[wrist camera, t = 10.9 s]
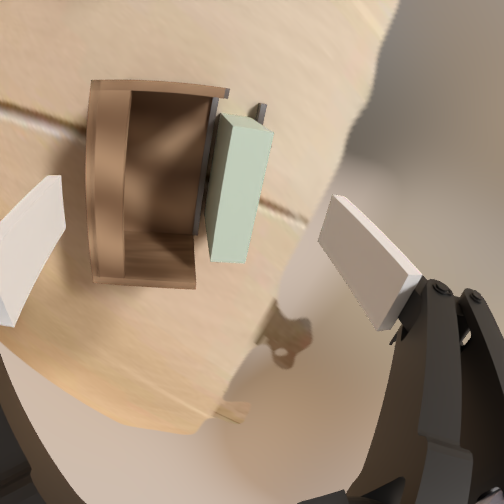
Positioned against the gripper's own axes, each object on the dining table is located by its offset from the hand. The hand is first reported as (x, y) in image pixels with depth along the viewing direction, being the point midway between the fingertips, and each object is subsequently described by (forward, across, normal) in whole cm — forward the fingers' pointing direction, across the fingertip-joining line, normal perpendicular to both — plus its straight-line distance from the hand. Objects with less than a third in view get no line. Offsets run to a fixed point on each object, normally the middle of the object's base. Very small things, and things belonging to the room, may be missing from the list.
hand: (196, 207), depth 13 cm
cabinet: (+20, -1, -4) cm, 20 cm away
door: (+20, +4, -4) cm, 20 cm away
